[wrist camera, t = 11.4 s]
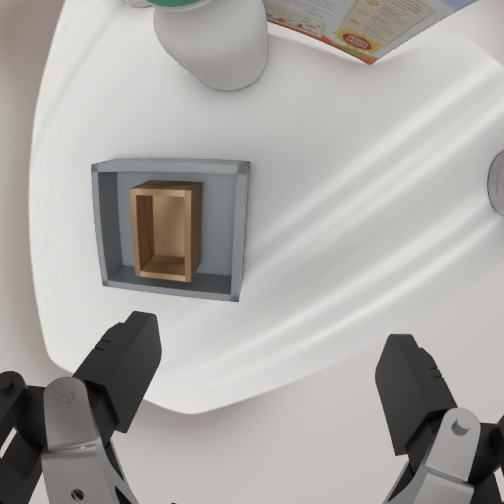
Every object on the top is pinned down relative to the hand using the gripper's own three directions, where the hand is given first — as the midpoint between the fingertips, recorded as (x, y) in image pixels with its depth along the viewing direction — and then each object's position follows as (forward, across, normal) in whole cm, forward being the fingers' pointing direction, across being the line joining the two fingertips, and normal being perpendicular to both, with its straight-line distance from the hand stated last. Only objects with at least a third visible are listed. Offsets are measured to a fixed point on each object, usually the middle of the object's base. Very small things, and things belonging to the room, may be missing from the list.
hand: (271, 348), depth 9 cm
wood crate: (+22, +11, +3) cm, 25 cm away
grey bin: (+23, +11, +3) cm, 26 cm away
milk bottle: (+23, +6, -15) cm, 28 cm away
